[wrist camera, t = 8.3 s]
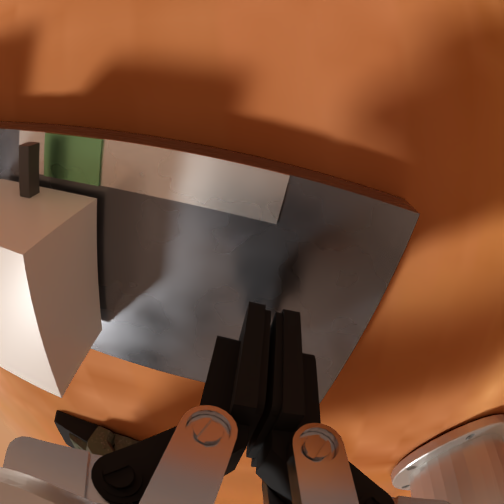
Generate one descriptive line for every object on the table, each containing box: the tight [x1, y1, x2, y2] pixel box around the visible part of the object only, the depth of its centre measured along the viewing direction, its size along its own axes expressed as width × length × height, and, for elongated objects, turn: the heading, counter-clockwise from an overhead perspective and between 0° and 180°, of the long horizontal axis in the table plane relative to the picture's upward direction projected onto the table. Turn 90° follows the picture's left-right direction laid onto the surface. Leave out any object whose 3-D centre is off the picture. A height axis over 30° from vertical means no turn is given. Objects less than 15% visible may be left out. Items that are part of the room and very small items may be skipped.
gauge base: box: [0, 121, 420, 403], centre depth 10 cm, size 23×10×6 cm, turn 77°
